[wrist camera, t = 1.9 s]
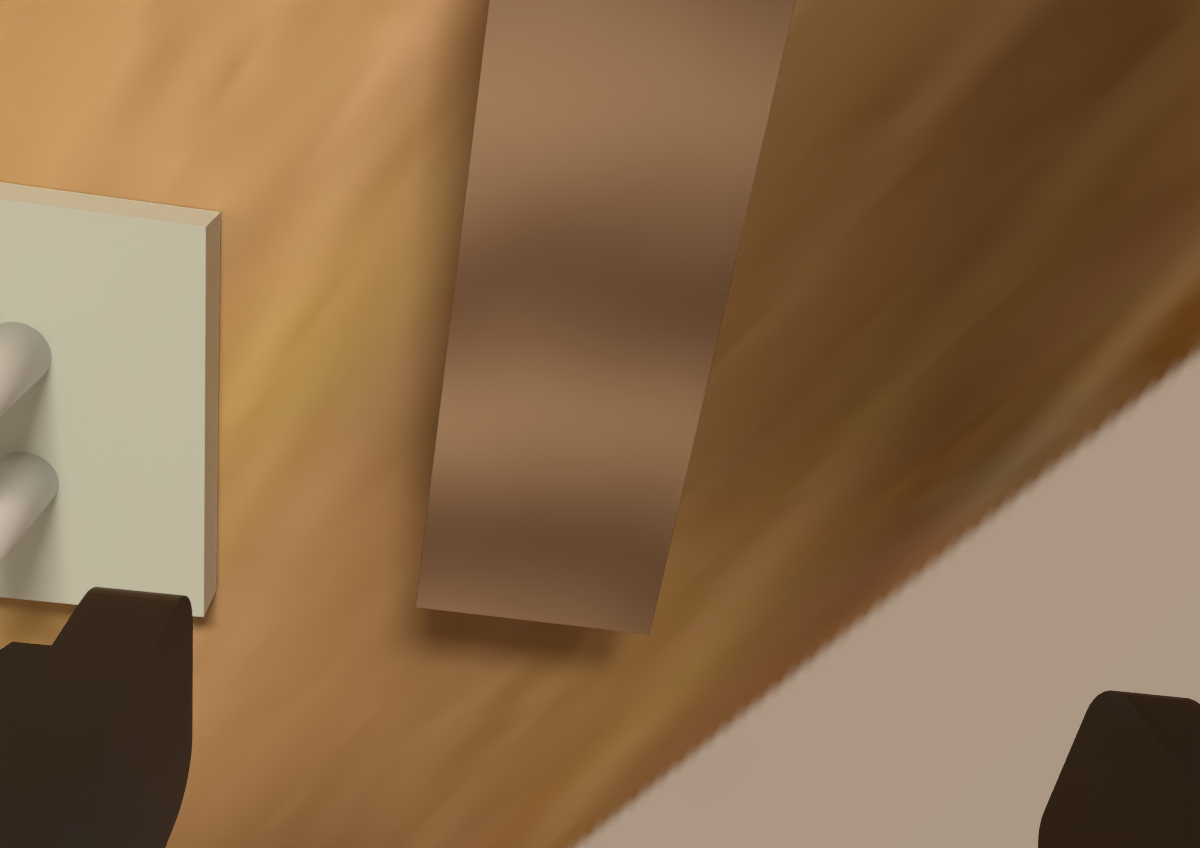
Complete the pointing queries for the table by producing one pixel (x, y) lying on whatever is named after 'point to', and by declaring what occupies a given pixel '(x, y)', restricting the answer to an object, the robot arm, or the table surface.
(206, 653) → the table surface
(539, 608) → the walnut shelf board
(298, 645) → the table surface
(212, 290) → the peg stand
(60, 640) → the robot arm
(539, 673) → the table surface
